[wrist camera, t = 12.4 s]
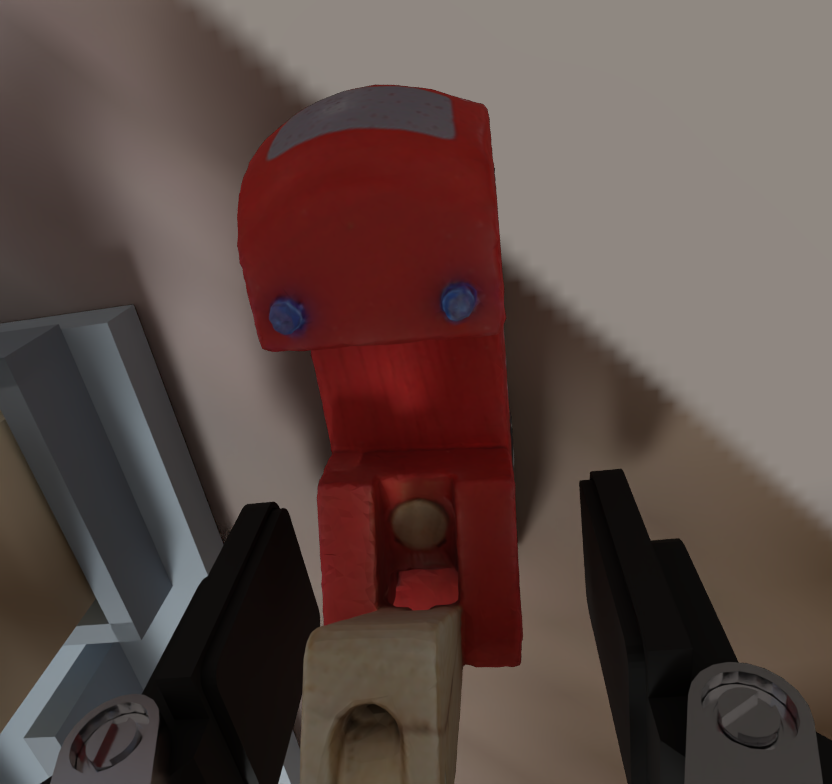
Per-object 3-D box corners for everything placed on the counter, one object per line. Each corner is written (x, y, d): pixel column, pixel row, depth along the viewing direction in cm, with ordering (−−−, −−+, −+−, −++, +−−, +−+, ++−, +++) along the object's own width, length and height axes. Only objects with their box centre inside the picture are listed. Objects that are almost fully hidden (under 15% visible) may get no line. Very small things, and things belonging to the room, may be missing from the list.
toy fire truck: (493, 69, 10) (649, 48, 1) (524, 676, 16) (591, 1378, 7) (287, 95, 10) (-594, 205, 2) (394, 678, 16) (312, 1348, 8)
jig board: (368, 931, 22) (352, 1072, 19) (19, 930, 24) (-49, 1059, 21) (131, 299, 12) (14, 377, 9) (-436, 381, 14) (-696, 470, 11)
